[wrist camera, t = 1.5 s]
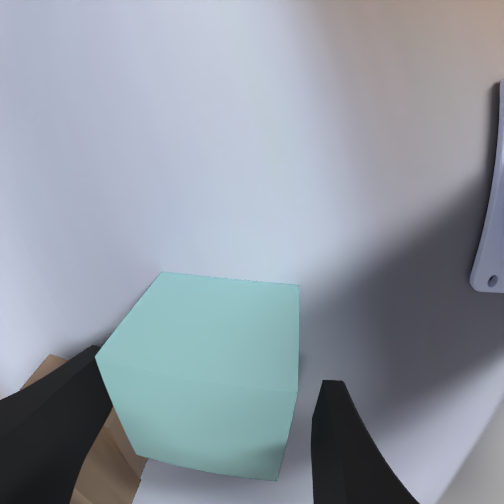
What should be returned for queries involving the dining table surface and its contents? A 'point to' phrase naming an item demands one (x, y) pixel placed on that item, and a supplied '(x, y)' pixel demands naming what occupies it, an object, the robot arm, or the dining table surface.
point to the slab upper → (105, 476)
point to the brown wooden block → (110, 427)
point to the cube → (207, 373)
